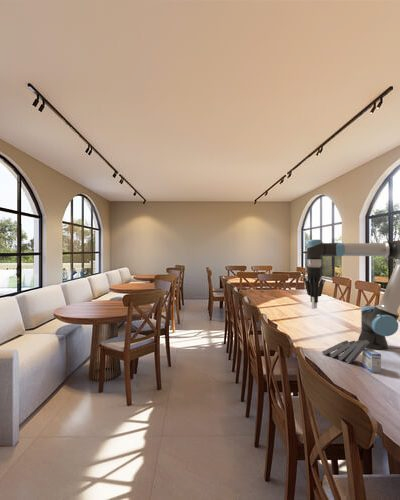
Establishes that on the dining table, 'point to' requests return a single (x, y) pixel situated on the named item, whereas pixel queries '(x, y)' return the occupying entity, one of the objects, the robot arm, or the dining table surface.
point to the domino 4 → (357, 351)
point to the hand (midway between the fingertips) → (314, 308)
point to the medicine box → (371, 360)
